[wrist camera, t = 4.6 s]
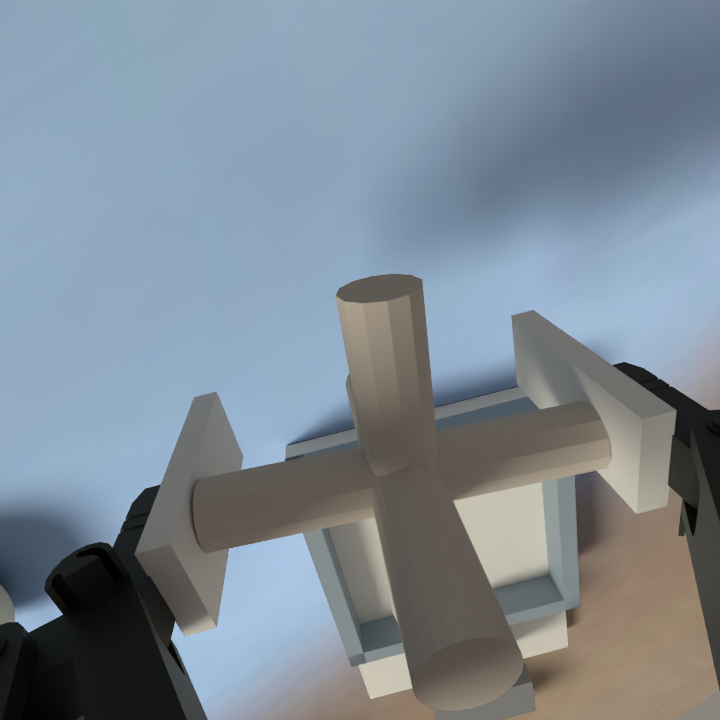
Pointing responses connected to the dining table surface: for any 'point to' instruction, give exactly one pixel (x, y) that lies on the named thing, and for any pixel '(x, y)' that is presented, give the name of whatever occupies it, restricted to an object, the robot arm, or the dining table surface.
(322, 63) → the dining table surface
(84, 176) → the dining table surface
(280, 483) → the pipe connector
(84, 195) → the dining table surface
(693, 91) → the dining table surface
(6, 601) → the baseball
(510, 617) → the dock
